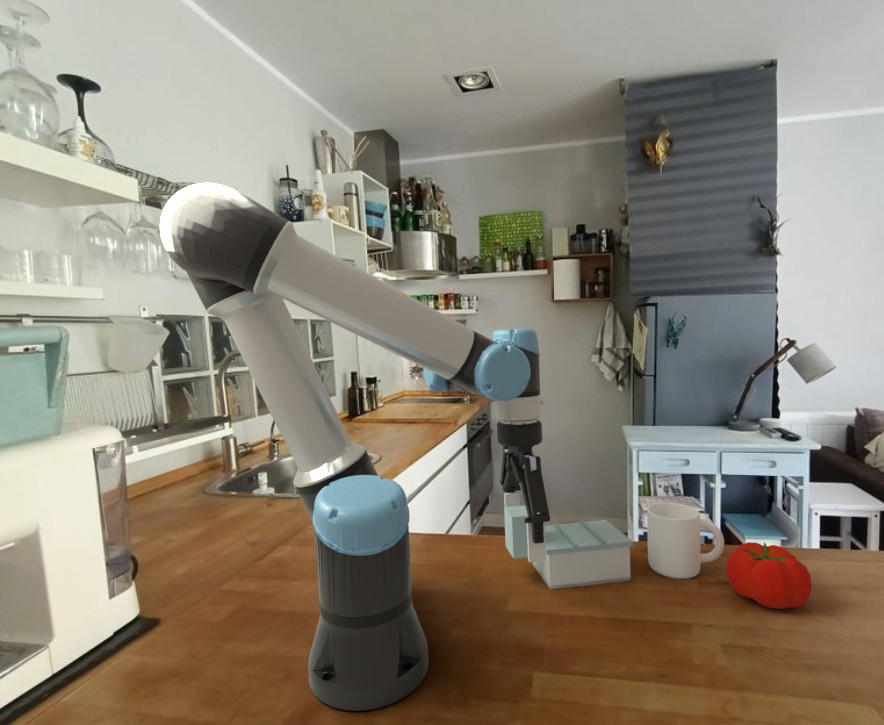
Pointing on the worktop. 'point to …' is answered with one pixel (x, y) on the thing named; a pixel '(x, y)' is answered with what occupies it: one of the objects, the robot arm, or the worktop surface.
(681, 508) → the mug
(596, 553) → the tub
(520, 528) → the lid
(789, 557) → the tomato
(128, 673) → the worktop surface
